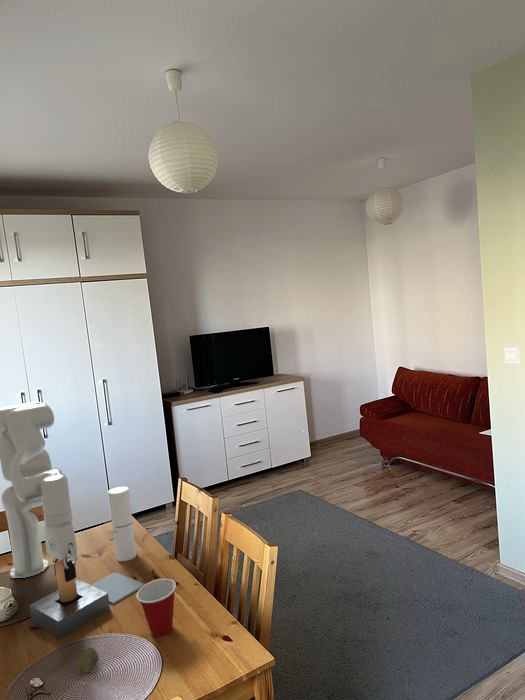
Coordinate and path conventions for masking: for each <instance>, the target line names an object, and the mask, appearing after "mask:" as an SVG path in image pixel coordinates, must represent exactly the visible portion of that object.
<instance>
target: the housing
mask: <svg viewBox="0 0 525 700" xmlns="http://www.w3.org/2000/svg"><path fill="white" fill-rule="evenodd" d="M75 580H76V588H77V597H76V598H75V599H73V600H71V601H68V602H61V601H60V600H59V592H58V589H57V590H56V591H53V592H51V593H50V594H48V595H46V596H44V597H42V598H41V599H39V600H37V601H35V602H33V603H31V604H29V612H30V613H29V614H30V621H31V622H32V623H34V624H35V625H37V626H38V627H40V628H42V629H44V630H46V631H47V632H49V633H50V634H51V635H53V636H56V638H58V639H60V640H61V639H63V638H64V637H66V636H68V635H69V634H71V633H73V632H75V631H76V630H78V629H79V628H81V627H82V626H85V625H86V624H87V623H89V622H91V621H92V620H95V619H96V618H97V617H99V616H101V615H103V614H104V613H106V612H108V611H109V610H111V607H110V606H111V605H110V603H109V597H108V593H107V592H104V591H102V590H100V589H98V588H96V587H93V586H91V585H92V584H89V583H87V582H84V581H82V580H80V579H75Z"/></svg>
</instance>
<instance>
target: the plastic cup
mask: <svg viewBox="0 0 525 700" xmlns="http://www.w3.org/2000/svg"><path fill="white" fill-rule="evenodd" d="M144 584H145V583H144ZM176 585H177V583H176V581H174V580H173V579H169V578H159V579H158V578H157V579H155V580H151V581H150V582H148V583H146V584H145V585H144V586H143V587H141V588H140V589H139V590H137V591H136V600H137V601H138V602H139V603H140V605H141V608H142V610H143V613H144V616H145V619H146V623H147V624H148V627H149V631H150V634H152V636H154V637H164V636H165V635H168V634H169V633H170V632H172V630H171V629H173V624H174V622H173V621H174V620H173V619H174V607H175V605H174V603H175V602H174V601H175V592H176V589H177V586H176Z"/></svg>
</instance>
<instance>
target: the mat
mask: <svg viewBox="0 0 525 700" xmlns="http://www.w3.org/2000/svg"><path fill="white" fill-rule="evenodd" d="M90 585H91V586H93V587H96V588H98V589H100V590H102V591H104V592H107V593H108V597H109V604H110V605H115V604H117V603H119V602H121V601H122V600H124V599H126V598H127V597H129V596H130V595H132V594H133V593H135V592H138V591H139V589H140V588H141V587H143V586H144V585H145V583H143V582H140V581H138V580H135V579H134V578H130V577H128V576H126V575H123V574H120V573H118V572H116V571H115V572H112V573H110V574H108V575H107V576H106V575H105V576H104V577H103V578H101V579H99V580H97V581H95V582H94V583H92V584H90Z"/></svg>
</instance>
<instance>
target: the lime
mask: <svg viewBox="0 0 525 700" xmlns="http://www.w3.org/2000/svg"><path fill="white" fill-rule="evenodd" d="M98 654H99V653H98V652H97V650H95V649H94V648H92V647H88V648H85V649H84V650H82V651H81V653H80V654H79V655H78V658H77V665H78V667H79V668H80V670H81V671H82V672H85V673H91V672H92V671H93V670H95V669H96V667H97V665H98V662H99V655H98Z"/></svg>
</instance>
